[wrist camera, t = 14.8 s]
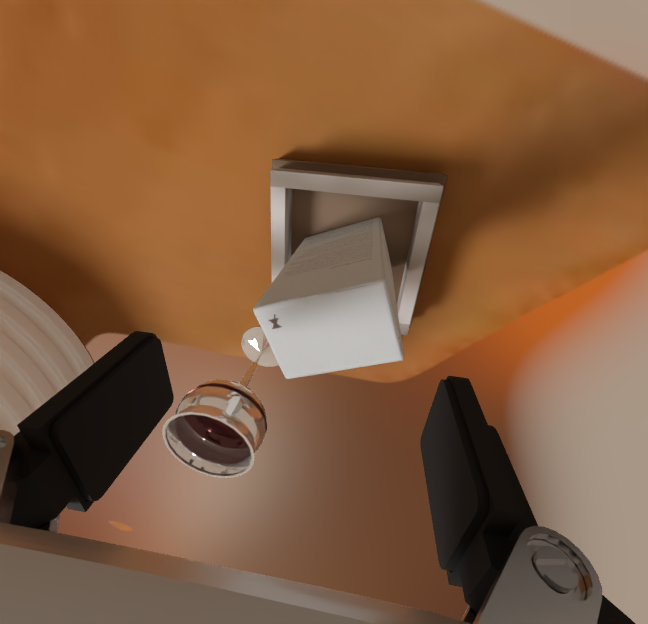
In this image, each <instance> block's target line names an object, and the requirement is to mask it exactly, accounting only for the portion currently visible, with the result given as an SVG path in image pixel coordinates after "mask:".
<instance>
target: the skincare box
mask: <svg viewBox="0 0 648 624" xmlns="http://www.w3.org/2000/svg"><path fill="white" fill-rule="evenodd" d="M253 312H254V314H255V316H256V318H257V320H258V322H259V324H260V326H261V328H262V330H263V332H264V334H265V336H266V338H267V340H268V342H269V344H270V346H271V349H272V351H273V353H274V355H275V357H276V360H277V362H278V364H279V366H280V368H281V370H282V372H283V374H284V376H285V378H286V379H292V378H297V377H303V376H309V375H316V374H322V373H328V372H334V371H340V370H346V369H352V368H358V367H364V366H370V365H377V364H383V363H389V362H396V361H402V360H403V359H404V352H403V345H402V338H401V331H400V324H399V317H398V310H397V303H396V297H395V289H394V282H393V275H392V268H391V263H390V258H389V253H388V248H387V244H386V239H385V234H384V230H383V225H382V221H381V218H380V217H377V218H373V219H370V220H366V221H363V222H359V223H355V224H352V225H349V226H345V227H341V228H338V229H334V230H331V231H327V232H324V233H320V234H317V235H313V236H310V237H306V238H305V239H304V240H303V242H302V243H301V244H300V246H299V247H298V248H297V250H296V251H295V253H294V254H293V255H292V257H291V258H290V259H289V261H288V262H287V263H286V265H285V266H284V268H283V269H282V270H281V272H280V273H279V274H278V276H277V277H276V278H275V280H274V281H273V282H272V284H271V285H270V286H269V288H268V289H267V290H266V292H265V293H264V294H263V296H262V297H261V299H260V300H259V301H258V303H257V304H256V305H255V307H254V308H253Z"/></svg>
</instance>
